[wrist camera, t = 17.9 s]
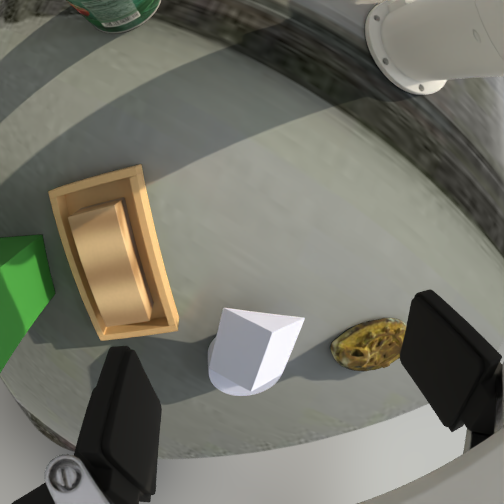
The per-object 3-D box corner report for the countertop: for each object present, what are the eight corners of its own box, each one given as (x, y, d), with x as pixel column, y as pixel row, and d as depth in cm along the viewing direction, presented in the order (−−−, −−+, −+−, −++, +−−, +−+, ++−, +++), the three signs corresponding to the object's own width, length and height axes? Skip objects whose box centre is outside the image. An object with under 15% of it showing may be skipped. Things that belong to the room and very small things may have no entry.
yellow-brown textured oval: (416, 312, 41) (335, 316, 38) (435, 325, 36) (350, 333, 33) (399, 362, 43) (320, 372, 40) (415, 377, 39) (332, 392, 36)
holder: (59, 186, 26) (47, 191, 24) (141, 164, 27) (135, 166, 24) (105, 328, 33) (100, 341, 30) (179, 318, 34) (178, 331, 31)
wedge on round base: (221, 291, 33) (202, 374, 37) (225, 326, 27) (204, 412, 31) (296, 302, 35) (267, 380, 39) (314, 335, 29) (277, 416, 33)
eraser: (81, 207, 27) (67, 217, 23) (124, 196, 27) (114, 204, 24) (114, 309, 31) (106, 327, 28) (154, 302, 32) (149, 321, 28)
